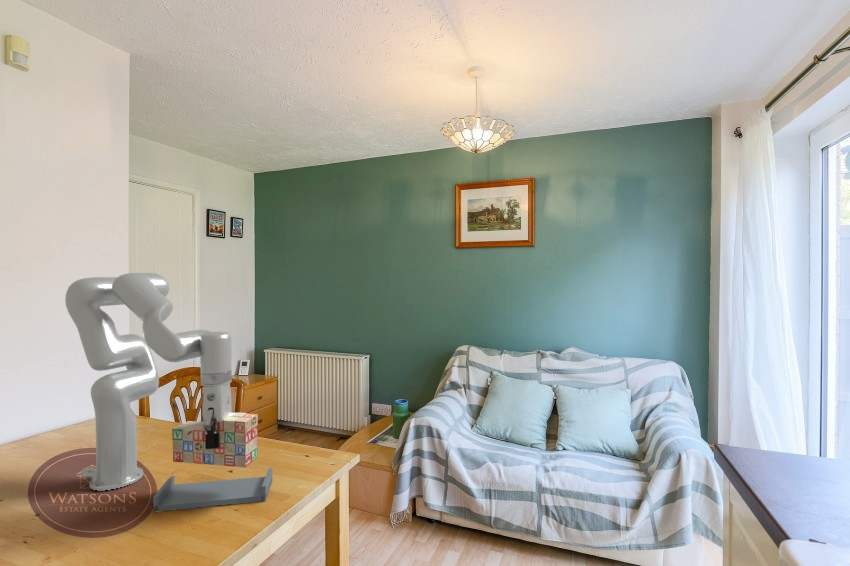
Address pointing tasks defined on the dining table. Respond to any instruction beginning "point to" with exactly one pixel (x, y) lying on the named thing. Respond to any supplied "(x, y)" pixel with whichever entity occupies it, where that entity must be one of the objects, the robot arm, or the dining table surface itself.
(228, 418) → the stack of blocks
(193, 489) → the board
